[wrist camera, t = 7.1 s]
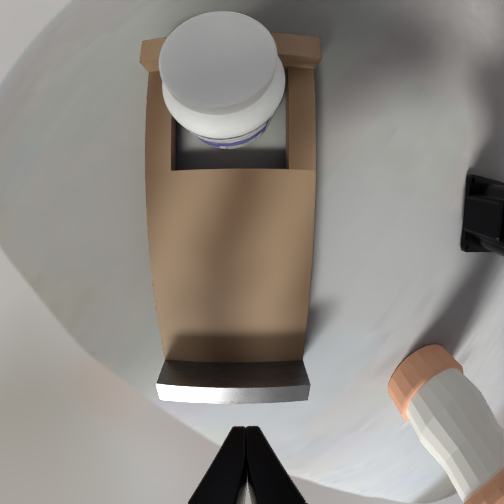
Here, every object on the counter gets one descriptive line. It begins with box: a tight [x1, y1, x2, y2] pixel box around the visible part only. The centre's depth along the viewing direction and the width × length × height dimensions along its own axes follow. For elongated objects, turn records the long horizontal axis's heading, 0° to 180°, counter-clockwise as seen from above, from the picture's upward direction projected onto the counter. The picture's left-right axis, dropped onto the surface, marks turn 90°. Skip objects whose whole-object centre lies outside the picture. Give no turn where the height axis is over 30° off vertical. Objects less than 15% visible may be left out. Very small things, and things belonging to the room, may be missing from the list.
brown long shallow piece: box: [140, 32, 322, 404], centre depth 16 cm, size 10×22×4 cm, turn 0°
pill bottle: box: [159, 11, 285, 149], centre depth 12 cm, size 5×5×9 cm
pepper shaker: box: [388, 344, 504, 504], centre depth 13 cm, size 7×7×19 cm
